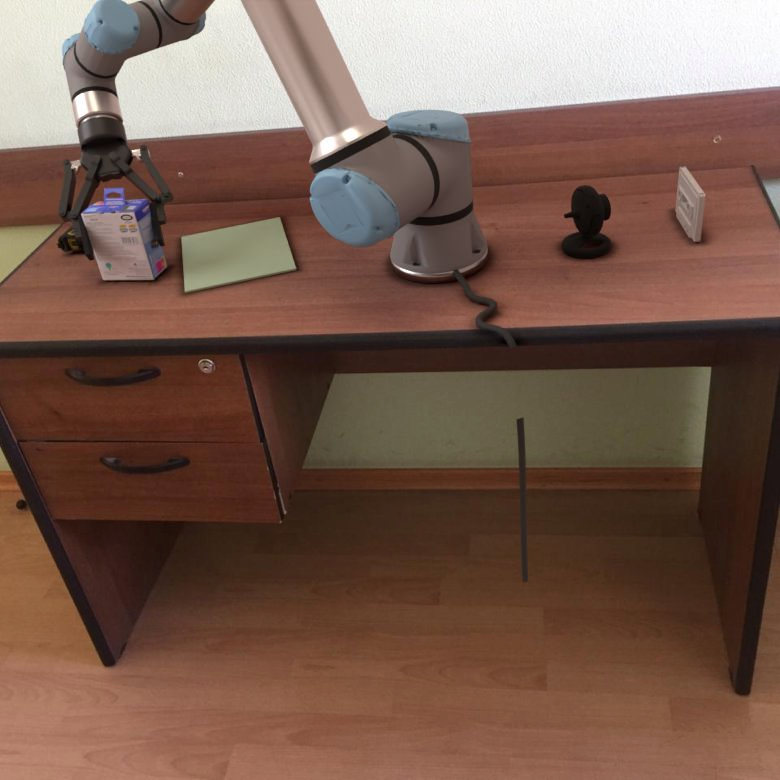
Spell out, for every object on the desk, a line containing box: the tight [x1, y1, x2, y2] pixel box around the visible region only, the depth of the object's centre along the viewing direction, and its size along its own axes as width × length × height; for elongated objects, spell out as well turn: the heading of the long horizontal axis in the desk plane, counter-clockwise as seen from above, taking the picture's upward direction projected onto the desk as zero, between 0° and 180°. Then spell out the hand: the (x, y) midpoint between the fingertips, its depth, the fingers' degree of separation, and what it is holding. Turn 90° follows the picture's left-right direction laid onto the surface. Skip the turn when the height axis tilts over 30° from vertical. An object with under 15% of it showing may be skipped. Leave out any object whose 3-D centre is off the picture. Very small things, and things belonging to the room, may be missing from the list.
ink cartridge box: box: [81, 187, 168, 281], centre depth 136 cm, size 10×6×14 cm, turn 79°
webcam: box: [561, 184, 612, 259], centre depth 126 cm, size 8×8×10 cm
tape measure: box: [56, 224, 84, 252], centre depth 151 cm, size 7×7×4 cm
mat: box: [181, 216, 297, 294], centre depth 142 cm, size 22×18×1 cm
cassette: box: [674, 165, 707, 243], centre depth 129 cm, size 12×2×8 cm, turn 178°
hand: (125, 250), depth 134 cm, fingers closed on ink cartridge box, 11 cm apart
